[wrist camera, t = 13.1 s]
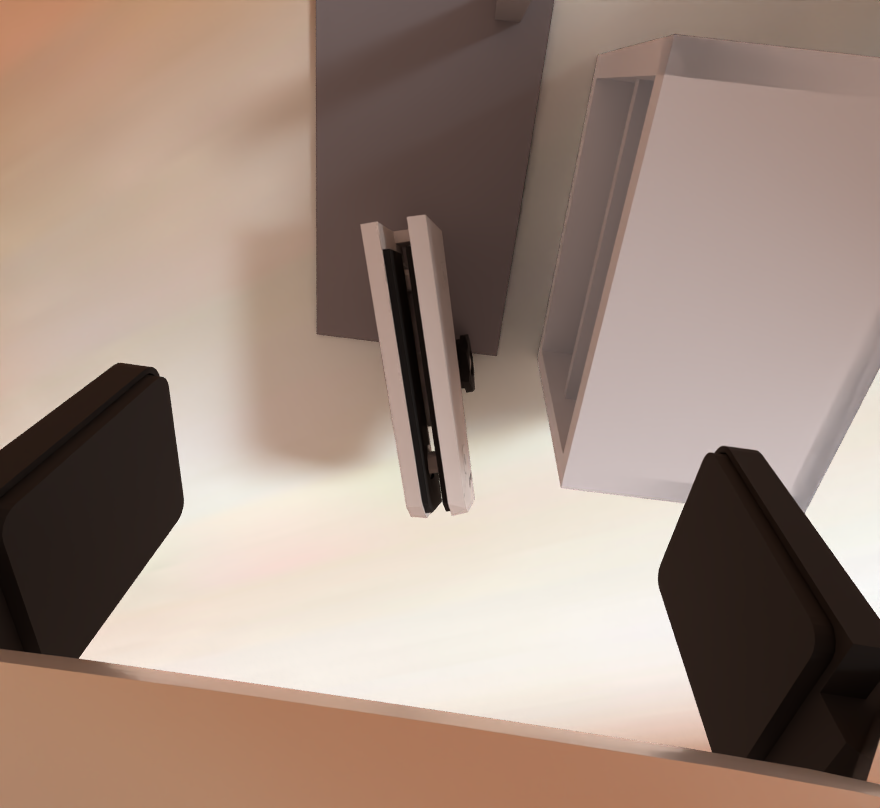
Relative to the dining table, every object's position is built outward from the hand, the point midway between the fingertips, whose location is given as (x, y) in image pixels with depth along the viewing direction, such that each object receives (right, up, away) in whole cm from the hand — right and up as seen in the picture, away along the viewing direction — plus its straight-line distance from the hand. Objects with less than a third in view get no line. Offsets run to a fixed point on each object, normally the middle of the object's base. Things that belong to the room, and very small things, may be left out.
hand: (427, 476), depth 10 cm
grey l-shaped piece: (-1, +13, +21) cm, 25 cm away
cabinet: (+12, +10, +21) cm, 27 cm away
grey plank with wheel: (-1, +10, +20) cm, 22 cm away
